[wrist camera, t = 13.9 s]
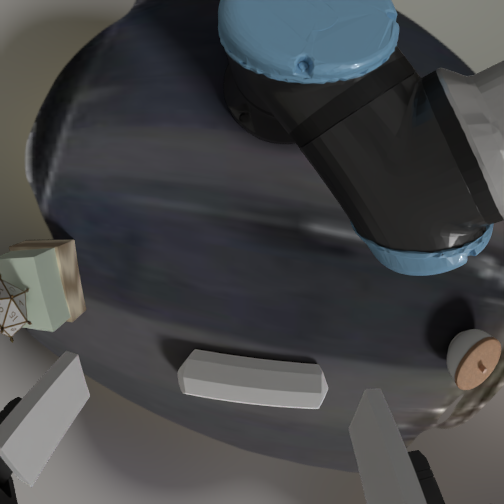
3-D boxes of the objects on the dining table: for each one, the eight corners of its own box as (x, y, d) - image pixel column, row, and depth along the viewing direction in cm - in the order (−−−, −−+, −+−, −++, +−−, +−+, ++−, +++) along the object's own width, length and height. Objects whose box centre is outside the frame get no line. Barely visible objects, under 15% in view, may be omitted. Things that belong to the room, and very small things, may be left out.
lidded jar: (483, 312, 42) (511, 335, 33) (475, 357, 45) (498, 382, 36) (440, 329, 43) (467, 357, 34) (434, 374, 46) (456, 404, 37)
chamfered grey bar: (339, 367, 41) (176, 347, 40) (331, 412, 39) (170, 394, 38) (325, 362, 48) (184, 345, 47) (318, 401, 46) (179, 385, 46)
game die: (33, 298, 37) (-9, 334, 30) (9, 254, 32) (-38, 292, 25) (53, 323, 33) (6, 366, 26) (24, 275, 28) (-31, 321, 21)
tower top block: (10, 251, 36) (-9, 259, 32) (54, 247, 36) (33, 257, 31) (26, 312, 39) (9, 325, 34) (70, 316, 39) (53, 331, 34)
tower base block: (27, 239, 41) (9, 246, 36) (75, 239, 41) (57, 246, 36) (39, 302, 44) (23, 313, 39) (87, 308, 44) (72, 322, 39)
